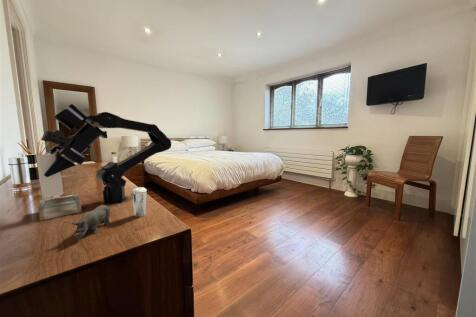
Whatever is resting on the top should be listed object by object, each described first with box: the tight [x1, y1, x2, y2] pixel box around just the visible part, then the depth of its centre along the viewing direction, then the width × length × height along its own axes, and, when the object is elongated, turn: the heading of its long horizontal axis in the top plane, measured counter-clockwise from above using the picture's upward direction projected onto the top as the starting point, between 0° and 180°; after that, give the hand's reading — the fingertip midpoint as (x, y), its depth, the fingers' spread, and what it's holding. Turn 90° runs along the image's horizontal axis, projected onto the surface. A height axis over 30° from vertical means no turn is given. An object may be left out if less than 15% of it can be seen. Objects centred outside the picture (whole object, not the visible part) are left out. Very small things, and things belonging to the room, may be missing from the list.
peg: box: [35, 153, 64, 199], centre depth 62 cm, size 4×4×13 cm
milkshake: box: [127, 185, 148, 218], centre depth 63 cm, size 4×5×10 cm
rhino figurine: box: [71, 204, 111, 240], centre depth 52 cm, size 4×14×6 cm, turn 3°
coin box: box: [38, 193, 82, 221], centre depth 67 cm, size 10×10×4 cm
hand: (44, 175), depth 61 cm, fingers closed on peg, 4 cm apart
